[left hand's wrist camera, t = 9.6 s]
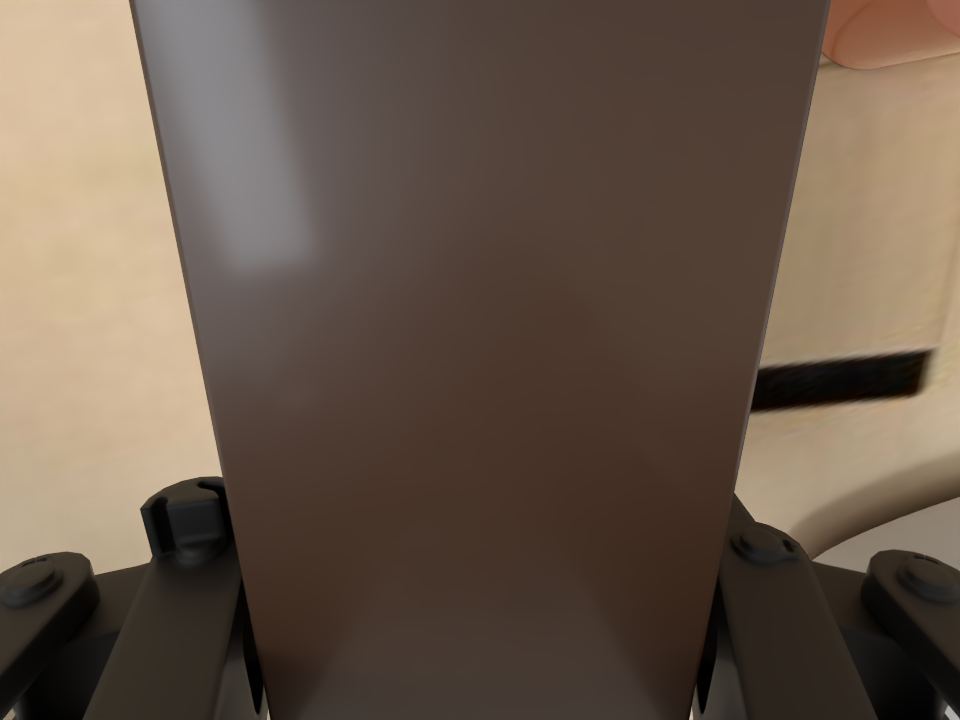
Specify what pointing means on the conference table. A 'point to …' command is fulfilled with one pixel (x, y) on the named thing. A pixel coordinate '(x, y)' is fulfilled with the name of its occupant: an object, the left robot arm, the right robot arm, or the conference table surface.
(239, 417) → the walnut beam
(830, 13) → the salmon pink cylinder
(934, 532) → the projector
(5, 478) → the conference table surface
